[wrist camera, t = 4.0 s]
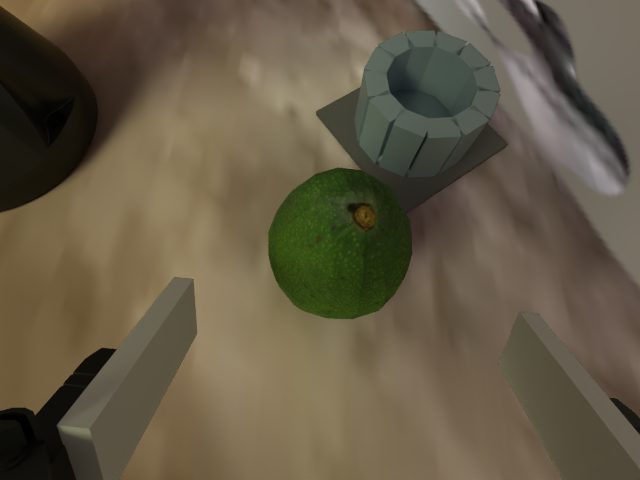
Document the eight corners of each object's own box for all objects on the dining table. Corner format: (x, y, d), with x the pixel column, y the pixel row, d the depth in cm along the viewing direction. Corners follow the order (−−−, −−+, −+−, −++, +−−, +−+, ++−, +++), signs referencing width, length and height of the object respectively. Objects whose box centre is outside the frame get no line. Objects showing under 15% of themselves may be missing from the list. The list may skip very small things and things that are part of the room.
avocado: (284, 337, 23) (263, 311, 12) (268, 227, 26) (239, 119, 15) (401, 316, 24) (486, 273, 13) (375, 211, 27) (426, 96, 15)
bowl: (333, 114, 29) (338, 65, 24) (417, 67, 31) (438, 13, 26) (403, 197, 27) (424, 161, 22) (490, 141, 29) (526, 96, 24)
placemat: (316, 114, 29) (316, 111, 29) (418, 58, 32) (419, 55, 31) (400, 217, 26) (401, 214, 26) (505, 147, 29) (507, 144, 28)
